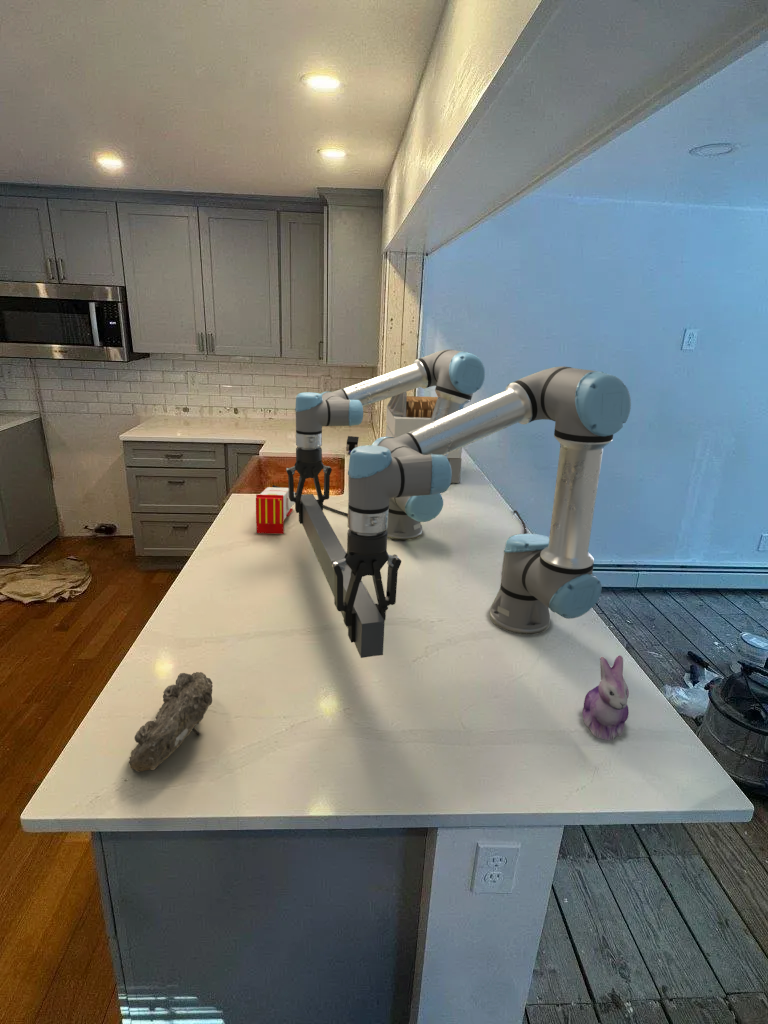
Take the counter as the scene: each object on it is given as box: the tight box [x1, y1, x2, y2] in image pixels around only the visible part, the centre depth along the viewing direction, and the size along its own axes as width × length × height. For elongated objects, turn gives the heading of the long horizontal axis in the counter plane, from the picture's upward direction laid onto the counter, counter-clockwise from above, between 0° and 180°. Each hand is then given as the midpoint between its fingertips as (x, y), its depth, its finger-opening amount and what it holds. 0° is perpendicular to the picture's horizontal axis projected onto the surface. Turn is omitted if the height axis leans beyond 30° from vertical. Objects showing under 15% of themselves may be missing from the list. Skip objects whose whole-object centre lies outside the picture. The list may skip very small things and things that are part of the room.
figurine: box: [581, 654, 630, 741], centre depth 108 cm, size 9×10×15 cm
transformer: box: [385, 392, 463, 484], centre depth 268 cm, size 34×33×41 cm
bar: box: [300, 493, 386, 659], centre depth 142 cm, size 78×4×8 cm, turn 17°
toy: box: [255, 486, 296, 535], centre depth 206 cm, size 12×13×30 cm
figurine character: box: [345, 435, 360, 455], centre depth 308 cm, size 7×8×15 cm
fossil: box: [128, 671, 213, 773], centre depth 102 cm, size 22×10×15 cm
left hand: (309, 521), depth 173 cm, fingers closed on bar, 4 cm apart
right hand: (364, 636), depth 114 cm, fingers closed on bar, 4 cm apart
